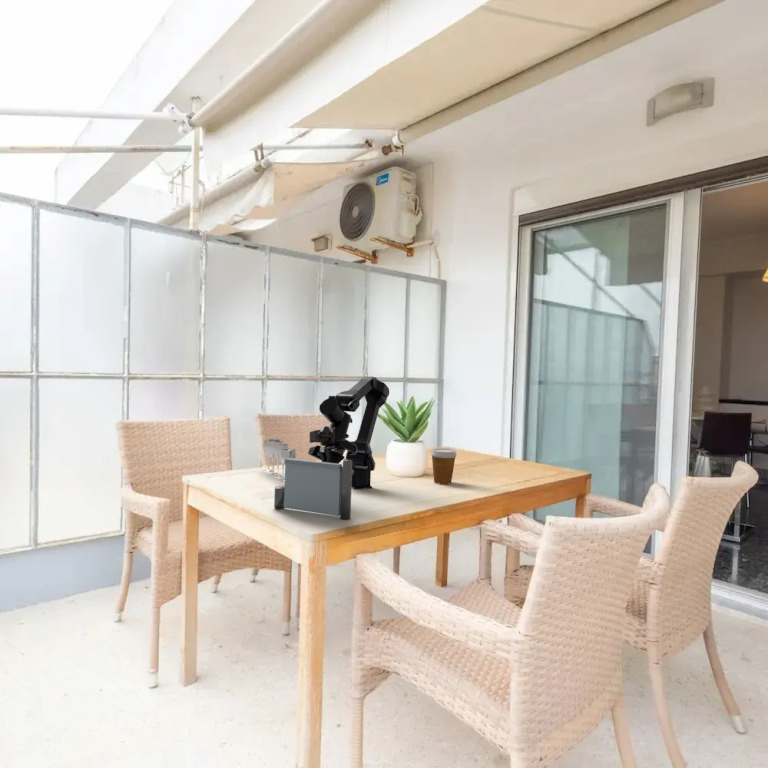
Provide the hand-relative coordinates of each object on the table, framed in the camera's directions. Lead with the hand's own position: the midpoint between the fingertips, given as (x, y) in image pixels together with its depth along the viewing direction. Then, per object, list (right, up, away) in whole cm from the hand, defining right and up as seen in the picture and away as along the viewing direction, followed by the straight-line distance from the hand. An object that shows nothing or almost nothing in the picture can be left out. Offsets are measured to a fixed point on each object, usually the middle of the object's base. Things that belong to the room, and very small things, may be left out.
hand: (324, 476), depth 157 cm
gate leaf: (-3, -8, -10) cm, 13 cm away
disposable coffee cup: (+40, -9, +36) cm, 54 cm away
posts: (-3, -9, -10) cm, 14 cm away
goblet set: (-21, -7, +36) cm, 42 cm away
